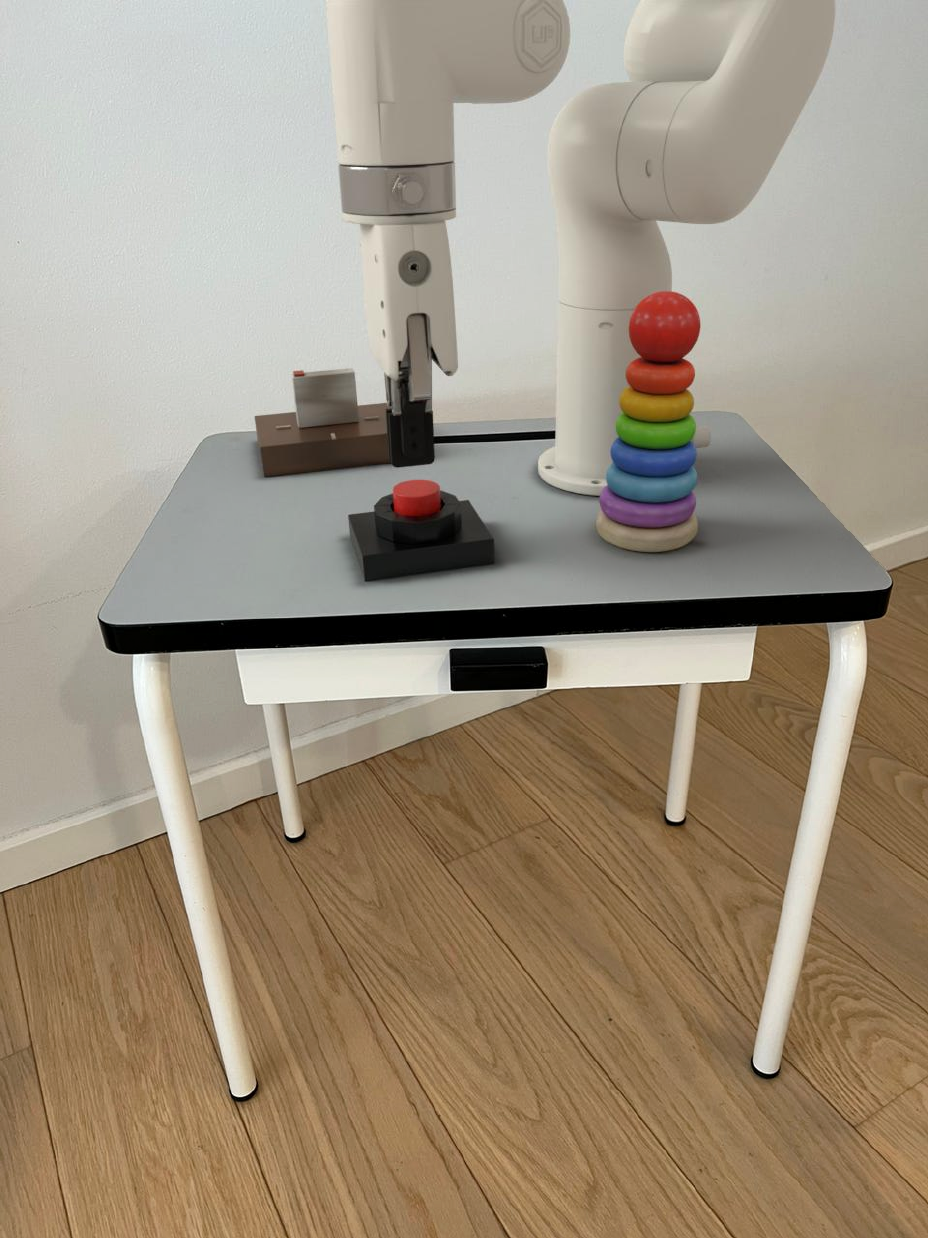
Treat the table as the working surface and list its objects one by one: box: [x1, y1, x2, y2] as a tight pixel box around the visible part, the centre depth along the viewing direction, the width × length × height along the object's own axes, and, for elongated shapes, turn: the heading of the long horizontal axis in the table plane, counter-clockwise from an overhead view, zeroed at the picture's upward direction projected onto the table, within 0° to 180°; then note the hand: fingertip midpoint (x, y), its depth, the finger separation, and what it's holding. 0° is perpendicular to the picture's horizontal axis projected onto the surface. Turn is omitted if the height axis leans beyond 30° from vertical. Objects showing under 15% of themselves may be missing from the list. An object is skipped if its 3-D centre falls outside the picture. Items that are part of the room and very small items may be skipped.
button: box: [392, 479, 441, 516], centre depth 72 cm, size 4×4×2 cm
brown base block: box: [254, 402, 392, 478], centre depth 95 cm, size 14×10×3 cm
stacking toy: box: [595, 291, 701, 553], centre depth 71 cm, size 8×8×19 cm
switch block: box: [347, 489, 495, 583], centre depth 74 cm, size 10×8×4 cm
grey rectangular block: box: [290, 367, 359, 428], centre depth 93 cm, size 6×2×5 cm, turn 104°
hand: (411, 461), depth 71 cm, fingers closed
